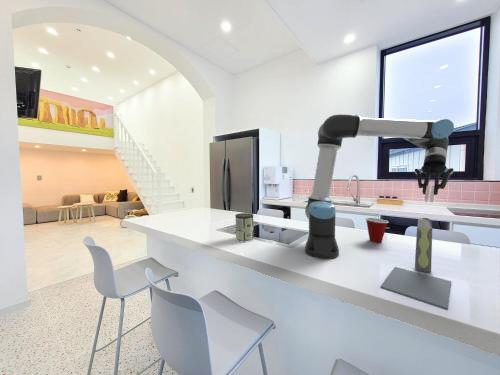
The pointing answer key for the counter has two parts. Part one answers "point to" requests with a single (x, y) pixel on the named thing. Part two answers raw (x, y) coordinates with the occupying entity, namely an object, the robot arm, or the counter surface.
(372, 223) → the plastic cup
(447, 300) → the slate mat
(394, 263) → the counter surface
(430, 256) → the patterned grey cylinder
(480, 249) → the counter surface
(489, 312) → the counter surface
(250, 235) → the coffee can
